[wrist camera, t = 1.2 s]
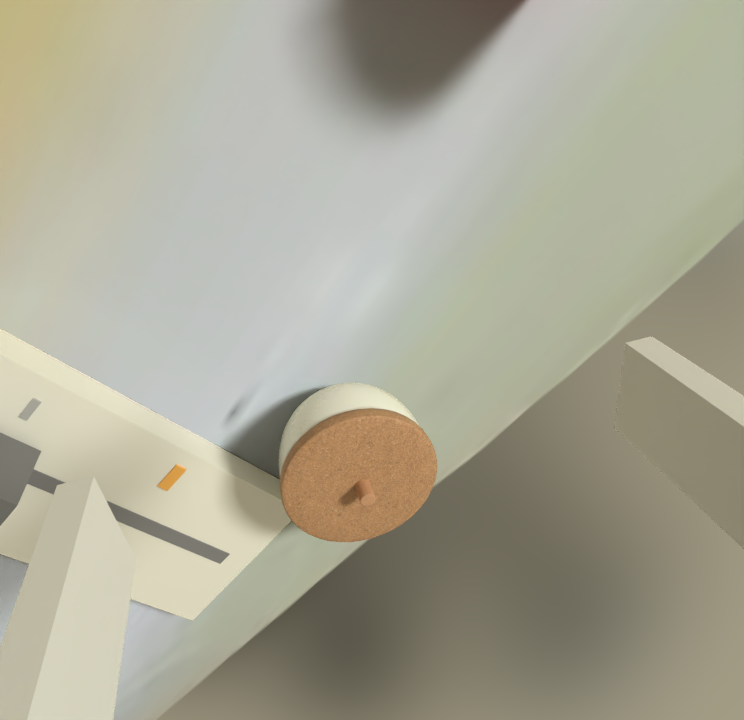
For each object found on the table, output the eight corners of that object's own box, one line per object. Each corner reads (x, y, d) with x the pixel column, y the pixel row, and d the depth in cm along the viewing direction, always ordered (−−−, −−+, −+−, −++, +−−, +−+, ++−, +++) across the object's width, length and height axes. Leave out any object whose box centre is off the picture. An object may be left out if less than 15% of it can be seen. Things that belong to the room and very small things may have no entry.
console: (-117, 480, 36) (-138, 508, 34) (-2, 327, 34) (-17, 347, 31) (193, 595, 48) (192, 622, 46) (297, 489, 45) (301, 511, 43)
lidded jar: (240, 431, 42) (246, 520, 34) (338, 331, 40) (369, 400, 32) (340, 492, 47) (366, 582, 39) (430, 407, 45) (477, 482, 37)
